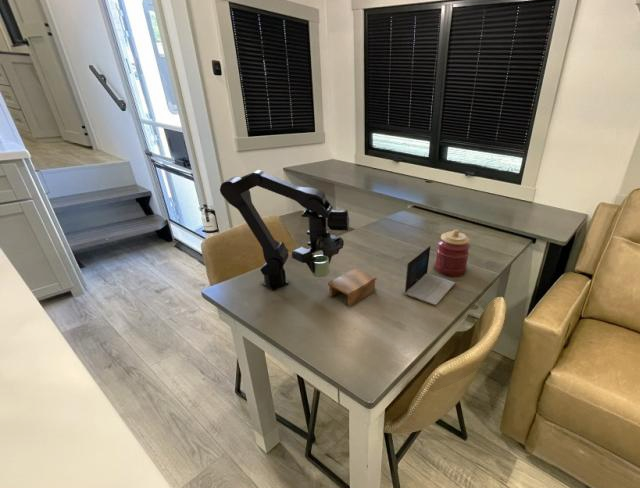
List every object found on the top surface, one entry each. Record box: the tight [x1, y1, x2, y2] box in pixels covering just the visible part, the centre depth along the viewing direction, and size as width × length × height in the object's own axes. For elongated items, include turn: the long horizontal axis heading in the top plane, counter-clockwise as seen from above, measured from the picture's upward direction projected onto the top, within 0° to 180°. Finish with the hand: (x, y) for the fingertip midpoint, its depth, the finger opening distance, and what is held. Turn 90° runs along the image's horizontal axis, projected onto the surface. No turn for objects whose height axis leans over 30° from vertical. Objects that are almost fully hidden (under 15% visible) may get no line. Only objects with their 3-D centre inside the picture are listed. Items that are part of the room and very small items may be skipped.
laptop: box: [404, 245, 456, 306], centre depth 120 cm, size 18×12×13 cm
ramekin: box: [311, 254, 331, 278], centre depth 117 cm, size 6×6×6 cm
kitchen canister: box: [434, 229, 471, 277], centre depth 134 cm, size 13×13×18 cm
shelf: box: [327, 267, 377, 307], centre depth 116 cm, size 14×10×6 cm
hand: (320, 269), depth 117 cm, fingers closed on ramekin, 6 cm apart
